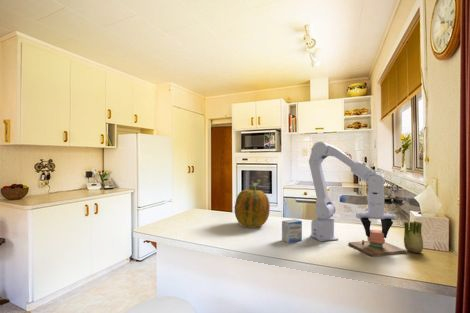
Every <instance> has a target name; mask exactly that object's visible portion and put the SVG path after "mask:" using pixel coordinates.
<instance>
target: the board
mask: <svg viewBox="0 0 470 313" xmlns="http://www.w3.org/2000/svg"><path fill="white" fill-rule="evenodd" d="M348 246H350V247H352V248H354V249H355V250H357V251H360V252H362V253H363V254H366V255H368V256H370V257H381V256H387V255H388V256H391V255H400V254H406V253H407V250H406V249H403V248H401V247H398V246H395V245H394V244H391V243H388V242H386V241H385V243H384V244H383V248H374V247H371V246H370V245H369V241H368V240H364V239H362V240H361V241H360V240H359V241H352V242H351V241H349V242H348Z"/></svg>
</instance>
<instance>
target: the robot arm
mask: <svg viewBox="0 0 470 313" xmlns="http://www.w3.org/2000/svg"><path fill="white" fill-rule="evenodd" d="M310 149H311V152H310V156H309V159H308V164H309V168H310V173H311V176H312V177H311V178H312V182H313V187H314V191H315V195H316V201H315V215H316V216H317V217H316V218H313V219H312V220H311V222H310V223H311V227H310V228H311V232H310V233H311V234H310V236H311V237H312V238H314V239H315V240H318V241H319V242H323V241H325V242H326V241H327V242H328V241H334V240H335V241H337V240H339V237H336V236H335V217H334V215H335V213H336V206H335V205H334V204H333V202H332V199H331V197H330V196H329V192H328V189H327V184H326V180H325V175H324V171H323V166H322V163H323V162H324V160H325V159H326V158H328V157H334V158H336V159H338V160H339V161H340V162H342V163H343V164H345V165H346V166H348V167H349V169H350V172H351V173H352V174H354V175H355V176H357V177H358V178H359V179H361V180H362V181H364V182H366V185H367V186H368V189H367V190H368V191H367V212H355V218H357V219H359V220H360V222H361V223H362V226H363V230H364V232H365V236H366V237H370V229H371V224H372V221H371V219H372V220H374V219H375V220H380V224H381V231H382V232H383V233H384V239H387V237H388V236H387V235H388V234H389V230H390V228H391V227H392V225H393V224H394V221H397V220H398V215H396V214H393V213H392V214H391V213H385V186H384V185H385V183H386V180H385V177H384V176H383V175H382V174H381V173H379V172H377V170H376V169H372V168H371V167H369V166H368V165H367V163H366V162H365V161H355V160H354V159H352V158H351V157H350V156H349V155H347V153H345V152H343V150H340V149H339V148H337V147H336V146H334V145H332V144H331V143H328V142H326V143H325V142H323V141H317V142H316V143H315V144H314V145H313V146H312V147H311V148H310Z"/></svg>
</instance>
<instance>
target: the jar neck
mask: <svg viewBox="0 0 470 313" xmlns="http://www.w3.org/2000/svg"><path fill="white" fill-rule="evenodd" d="M369 245H370V246H371V247H374V248H383V244H376V243H372V242H369Z"/></svg>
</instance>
